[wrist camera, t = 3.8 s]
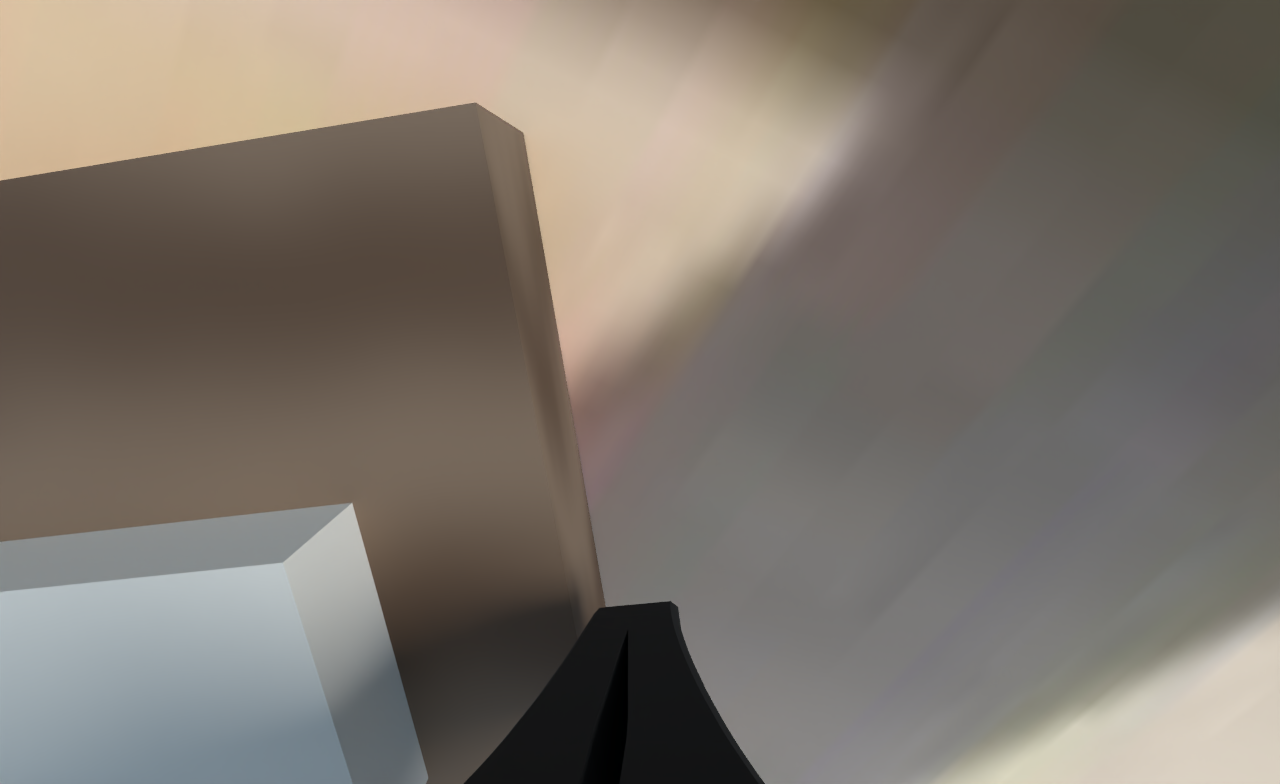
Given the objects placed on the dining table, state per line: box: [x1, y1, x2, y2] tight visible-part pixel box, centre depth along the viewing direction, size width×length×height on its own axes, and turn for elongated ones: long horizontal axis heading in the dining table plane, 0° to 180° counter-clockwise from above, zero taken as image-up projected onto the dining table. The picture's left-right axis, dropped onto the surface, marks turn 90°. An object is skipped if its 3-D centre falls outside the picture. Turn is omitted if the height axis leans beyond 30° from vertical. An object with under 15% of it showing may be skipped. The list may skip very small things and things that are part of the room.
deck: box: [0, 103, 605, 784], centre depth 13 cm, size 18×14×3 cm
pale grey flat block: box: [0, 503, 428, 784], centre depth 11 cm, size 9×6×2 cm, turn 98°
